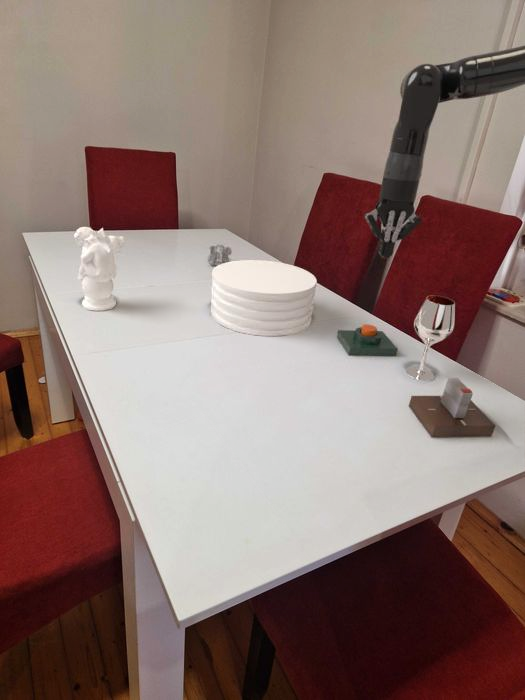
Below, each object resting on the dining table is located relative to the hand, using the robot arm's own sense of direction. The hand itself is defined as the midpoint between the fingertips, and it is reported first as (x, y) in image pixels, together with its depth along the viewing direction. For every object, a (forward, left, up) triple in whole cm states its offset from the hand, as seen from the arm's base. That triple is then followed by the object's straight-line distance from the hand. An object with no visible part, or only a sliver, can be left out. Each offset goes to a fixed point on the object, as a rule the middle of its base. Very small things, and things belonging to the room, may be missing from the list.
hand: (384, 257), depth 103 cm
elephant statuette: (+33, -63, -23) cm, 75 cm away
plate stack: (+24, -19, -23) cm, 38 cm away
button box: (0, 0, -23) cm, 23 cm away
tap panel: (-6, +31, -23) cm, 39 cm away
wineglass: (-8, +13, -23) cm, 28 cm away
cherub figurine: (+66, -23, -23) cm, 74 cm away
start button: (0, 0, -19) cm, 19 cm away
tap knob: (-6, +31, -20) cm, 38 cm away
